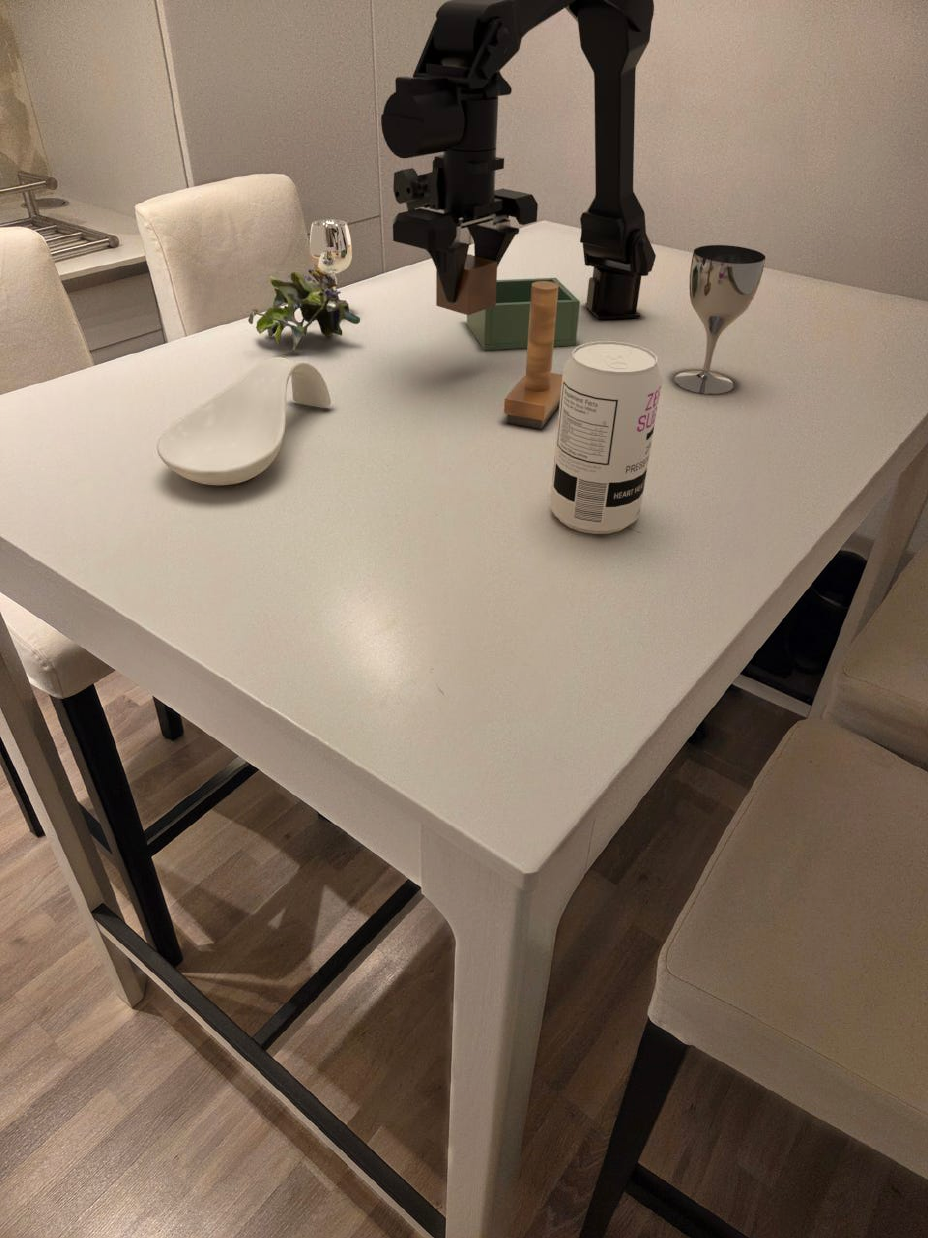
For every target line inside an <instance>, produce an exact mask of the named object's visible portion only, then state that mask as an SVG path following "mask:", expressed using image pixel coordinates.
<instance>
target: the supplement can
mask: <svg viewBox="0 0 928 1238" xmlns="http://www.w3.org/2000/svg"><path fill="white" fill-rule="evenodd" d="M562 368H563V369H562V375H563V376H562V386H561V397H560V404H559V406H558V407H559V408H558V417H557V428H556V438H555V439H556V440H555V448H554V459H553V468H552V469H553V470H552V480H551V491H550V502H549V505H550V506H549V508H550V510H551V512H552V513H553V515H554V516H555V517H556V518H557V519H558V520H559V521H560V523H562V524H563V525H565V526H566V527H568V528H569V529H572V530H575V531H577V532H580V533H585V534H593V535H609V534H613V533H617V532H621V531H622V530H624V529H626V528H627V527H629V526H630V525H632V524H634V523H635V522H636V521H637V520H638V517H639V516H640V513H641V506H642V501H643V497H644V491H645V489H644V488H645V483H646V477H647V472H648V466H649V460H650V456H651V455H650V453H651V449H652V443H653V436H654V432H655V431H654V430H655V426H656V419H657V414H658V413H657V412H658V406H659V400H660V397H661V390H662V384H663V378H662V374H661V370H660V368H659V365H658V358H657V354H656V353H654V352H652V351H651V350H650V349H648V348H645V347H643V346H641V345H637V344H633V343H629V342H623V341H614V340H609V341H608V340H606V341H605V340H603V341H602V340H599V341H592V342H591V341H590V342H586V343H583V344H580V345H578V346H575V348H574V349H573V350H572V351H571V355H570V357H569V358H568V360H567V361H566V363H565V365H564V366H563V367H562Z"/></svg>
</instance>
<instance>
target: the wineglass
mask: <svg viewBox="0 0 928 1238" xmlns="http://www.w3.org/2000/svg"><path fill="white" fill-rule="evenodd" d="M309 255H310V258H311V262H312V264H313V265H314V267H315V268H316V269H319V270H321V271H322V272H323V273H324V274H326V273H328V274H329V275H330V276H331V277H332V278H333V279H334V280H335V281H336V284H337V285H338V279H337V276H336V274H339V273H342V272H343V271H345V270H346V269H348V268H349V267H350V265H351V263H352V261H353V243H352V238H351V233H350V230H349V225H348V223H347V222H346V221H344V220H339V219H320V220H316V221H313V222H312V223H311V228H310V234H309ZM333 289H334V290H337V286H335V287H333ZM350 313H352V311H350Z"/></svg>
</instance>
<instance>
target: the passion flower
mask: <svg viewBox="0 0 928 1238" xmlns="http://www.w3.org/2000/svg"><path fill="white" fill-rule="evenodd" d="M307 272H308V274H310V276H309V275H308V276H307V275H304V274H301V273H300V272H299V271H298V270H293V271H291V272H290V275H288V276H287V278H285V280H286V281H283V280H281V279H277V278H275V277H273V276H271V275H270V277H269V281H270V283H271V285H272V287H273V288H274V292H275V294H276V295H275V297H274V298H273V303H272V307H269V308H267V310H266V311H265V312H264V313H260V312H259V310H258V309H256V308H252V311H251V312H250V315H249V317H248V319H247V321H248V323H249V324H250V325H253V323H254V317H256V315H258V316H260V318H258V320H257V321H256V326H255V328H256V331H257V332H258V333H259V334H260V335H261V334H262V333H264V332H265V331H267V336H268V337H269V338H272V337H273V335H274V336H275V337H274V338H275V340H276V343H277V344H279V345H280V343H281V337H282V333H283V331H284V329H285V328H286V327H289V328H290V329H291V338H292V342H293V344H292V349H291V352H290V354H289V355H290V356H292V355H294V352H295V350H296V348H297V347H298V344H299V342H300V341H301V340H302V338H303V337H304V336H305V335H306V334H307V333H308V328H309V327H310V326H311V325H312V323H313V322H315V321H317V324H318V327H319V329H320V332H321V334H322V335H324V336H325V337H329V338H331V337H333V334H334V335H339V336H343V329H342V328H341V322H342V321H343V320H346V321H348V322H349V323H351V324H353V325H358V324H360V322H361V317H359V316H357V315H355V314H353V313H352V312H351V311H350V308H349V303H348V302H347V300H345V299H340V297H339V295H340V294H341V293H342V291H341V290H340V291H338V289H336V290H334V289H333V287H335V286H336V287H338V283H337V284H336V281H335V280H334V279H333V278H332V277H331V274H329V273H325V272H323V271H321V270H319V269H318V268H315V270H314V269H311V268H309V269H308V271H307ZM311 276H312V277H313V278H314V279H313V278H312V277H311ZM289 278H290V279H289ZM316 281H317V282H318V284H317V282H316ZM283 304H287V306H286V305H284V307H281V306H282V305H283ZM298 309H299V311H300V314H301V317H302V319H301V321H298V320H297V319H296V317H295V312H296V311H297V310H298ZM350 312H351V313H350ZM289 322H290V323H289ZM304 322H307V323H306V325H304ZM291 323H293V324H291ZM294 324H295V325H294Z"/></svg>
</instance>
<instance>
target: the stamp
mask: <svg viewBox="0 0 928 1238" xmlns="http://www.w3.org/2000/svg"><path fill="white" fill-rule="evenodd" d="M558 288H559V286H558V284H556V283H554V282H549V281H538V282H534V283H532V287H531V301H530V316H529V330H528V345H527V348H526V359H525V360H526V361H525V373H524V376H523V377H522V378H521V379H520V380H519V381H518V383H517V384H516V385H515V386H514V387H513V388H512V389H511V390H510V392H509V393H508V394H506V396H505V398H504V400H503V401H504V403H503V414H504V415H507V416H506V424H509V425H510V424H511V425H516V426H521V427H527V428H531V429H532V428H533V429H538V430H543V428H544V426H545V425H546V424H547V422H549V421H548V420H549V419H550V418H551V417H552V415H553V414H554V412H555V411H556V409H557V408H558V407H560V397H561V386H562V376H563V374H562V373H561V374H560V373H554V372H552V366H553V356H554V355H553V353H554V347H553V345H554V333H555V322H556V311H557V299H558Z"/></svg>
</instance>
